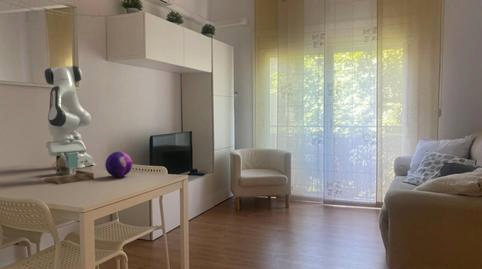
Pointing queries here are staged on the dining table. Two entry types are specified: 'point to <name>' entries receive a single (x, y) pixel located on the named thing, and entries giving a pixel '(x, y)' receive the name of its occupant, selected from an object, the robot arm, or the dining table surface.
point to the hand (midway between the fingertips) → (72, 159)
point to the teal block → (72, 160)
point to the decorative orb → (118, 164)
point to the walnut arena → (72, 177)
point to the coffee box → (63, 167)
